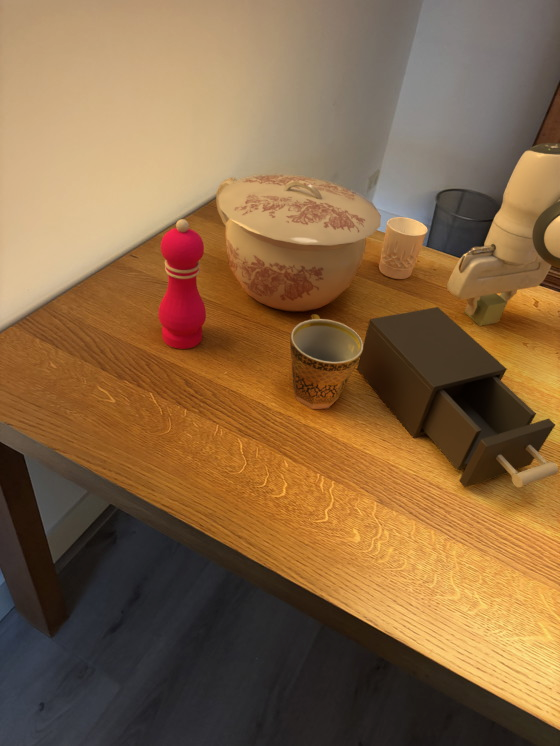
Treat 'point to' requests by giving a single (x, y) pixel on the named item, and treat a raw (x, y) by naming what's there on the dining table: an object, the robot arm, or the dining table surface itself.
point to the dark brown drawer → (488, 432)
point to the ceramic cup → (322, 360)
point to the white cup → (401, 247)
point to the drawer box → (420, 362)
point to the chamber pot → (294, 237)
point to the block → (489, 309)
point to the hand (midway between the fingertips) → (484, 310)
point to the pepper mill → (182, 288)
